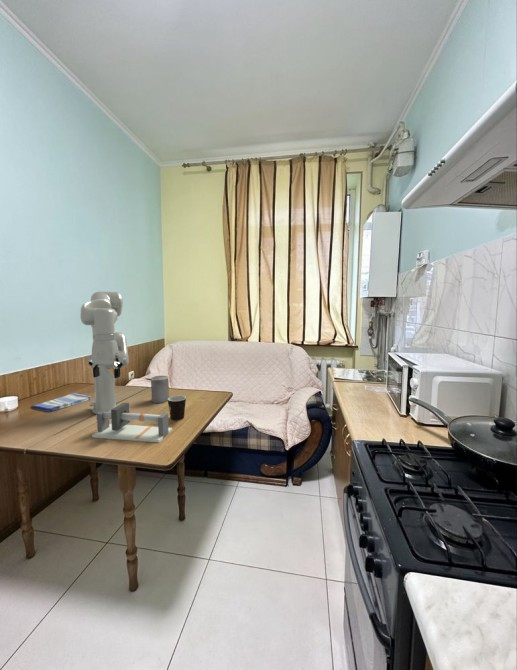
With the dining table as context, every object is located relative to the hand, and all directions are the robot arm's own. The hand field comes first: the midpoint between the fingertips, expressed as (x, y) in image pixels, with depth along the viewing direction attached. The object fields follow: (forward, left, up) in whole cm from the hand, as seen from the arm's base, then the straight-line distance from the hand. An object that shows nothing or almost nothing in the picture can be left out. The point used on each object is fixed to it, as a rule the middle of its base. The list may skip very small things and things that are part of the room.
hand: (106, 377), depth 126 cm
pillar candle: (+2, +43, -25) cm, 49 cm away
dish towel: (-50, +30, -25) cm, 63 cm away
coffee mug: (+23, +18, -25) cm, 38 cm away
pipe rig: (+11, 0, -24) cm, 27 cm away
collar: (+6, 0, -21) cm, 22 cm away
